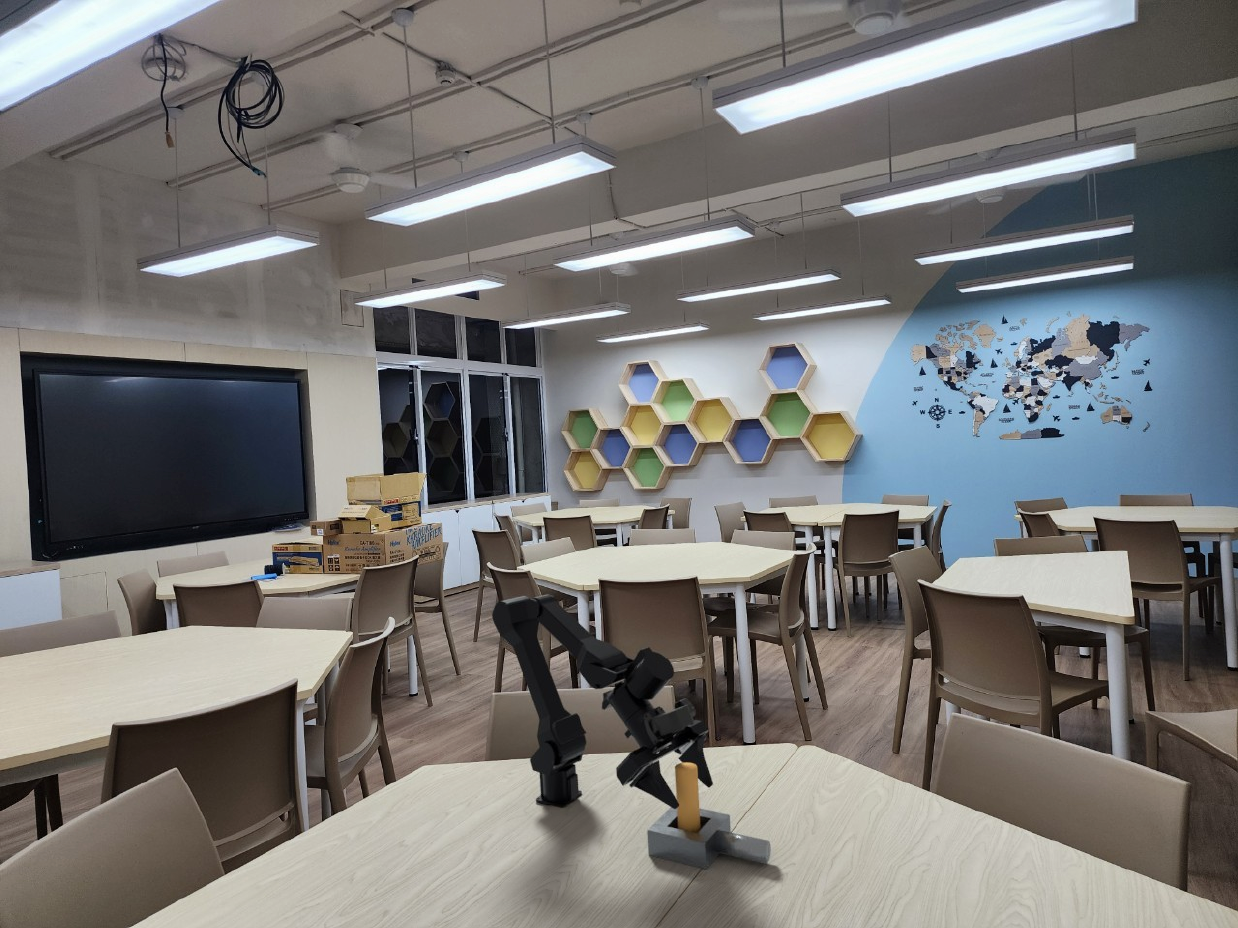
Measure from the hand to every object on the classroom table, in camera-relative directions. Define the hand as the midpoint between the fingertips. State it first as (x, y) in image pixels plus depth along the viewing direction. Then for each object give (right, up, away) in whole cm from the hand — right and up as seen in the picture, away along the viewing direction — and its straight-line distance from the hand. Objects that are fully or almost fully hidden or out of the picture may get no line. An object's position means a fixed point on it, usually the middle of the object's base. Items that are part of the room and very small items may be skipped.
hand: (694, 796), depth 121 cm
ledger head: (+3, -8, -1) cm, 9 cm away
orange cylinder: (-1, -9, +1) cm, 9 cm away
